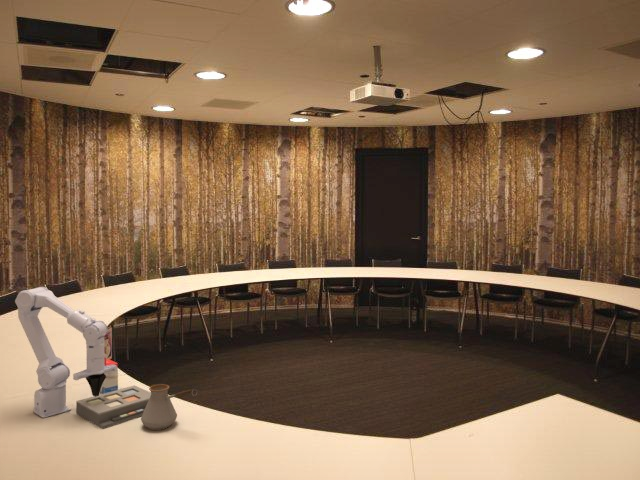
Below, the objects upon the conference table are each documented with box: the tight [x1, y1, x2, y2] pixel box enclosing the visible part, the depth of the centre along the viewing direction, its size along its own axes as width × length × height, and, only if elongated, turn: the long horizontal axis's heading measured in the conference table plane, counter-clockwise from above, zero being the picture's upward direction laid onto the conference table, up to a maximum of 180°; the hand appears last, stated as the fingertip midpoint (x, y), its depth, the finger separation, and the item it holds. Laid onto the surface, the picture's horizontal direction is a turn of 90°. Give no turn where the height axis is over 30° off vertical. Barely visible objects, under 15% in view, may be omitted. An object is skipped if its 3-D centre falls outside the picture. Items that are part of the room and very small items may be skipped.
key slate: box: [121, 390, 136, 399], centre depth 187 cm, size 4×4×2 cm
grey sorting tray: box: [75, 384, 151, 430], centre depth 180 cm, size 22×18×4 cm
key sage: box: [88, 399, 103, 405], centre depth 177 cm, size 4×4×2 cm
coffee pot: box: [140, 383, 198, 431], centre depth 167 cm, size 21×12×15 cm, turn 62°
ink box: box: [100, 357, 119, 394], centre depth 199 cm, size 8×5×15 cm, turn 47°
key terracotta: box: [122, 396, 138, 404], centre depth 181 cm, size 4×4×2 cm
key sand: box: [106, 395, 121, 404], centre depth 182 cm, size 4×4×2 cm
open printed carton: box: [101, 327, 113, 360], centre depth 238 cm, size 11×7×15 cm, turn 179°
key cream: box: [106, 401, 121, 407], centre depth 176 cm, size 4×4×2 cm
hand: (95, 395), depth 177 cm, fingers closed
